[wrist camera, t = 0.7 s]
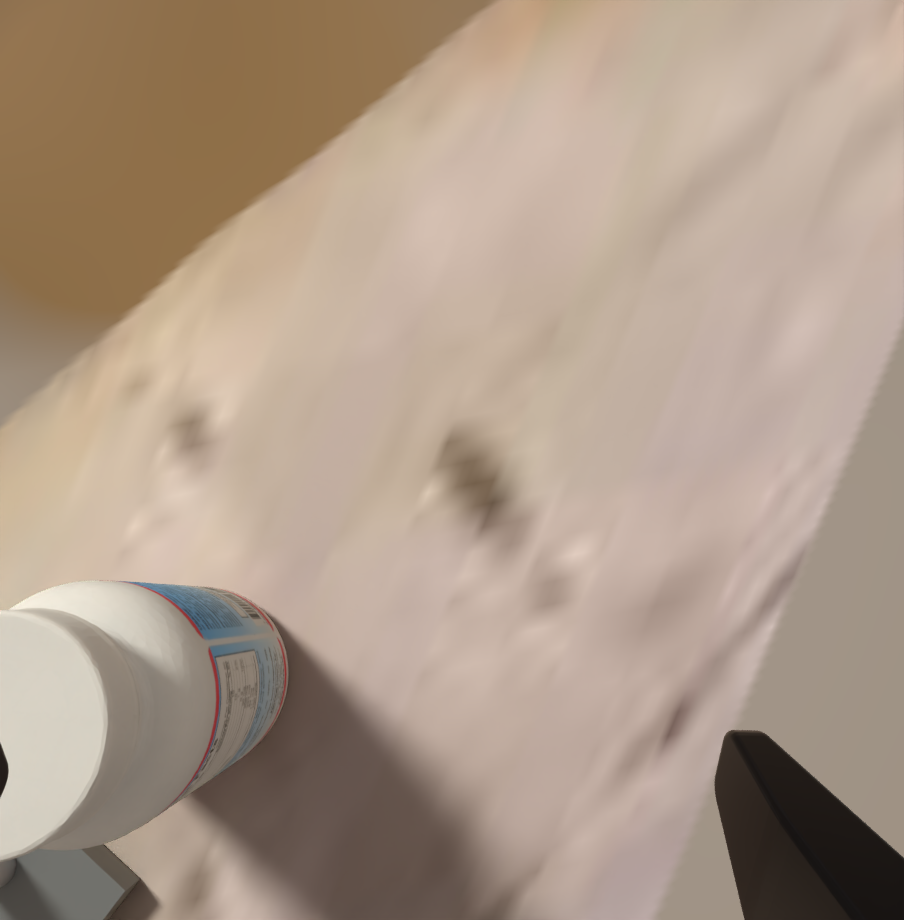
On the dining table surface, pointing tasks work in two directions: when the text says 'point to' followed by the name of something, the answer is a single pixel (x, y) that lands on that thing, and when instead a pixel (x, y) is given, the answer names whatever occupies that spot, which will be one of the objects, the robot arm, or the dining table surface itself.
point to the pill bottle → (126, 704)
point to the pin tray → (64, 885)
